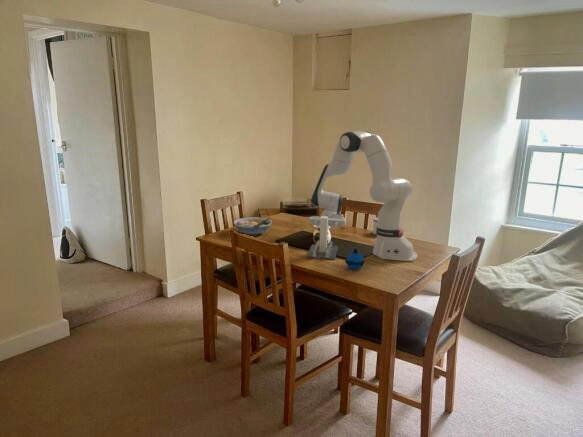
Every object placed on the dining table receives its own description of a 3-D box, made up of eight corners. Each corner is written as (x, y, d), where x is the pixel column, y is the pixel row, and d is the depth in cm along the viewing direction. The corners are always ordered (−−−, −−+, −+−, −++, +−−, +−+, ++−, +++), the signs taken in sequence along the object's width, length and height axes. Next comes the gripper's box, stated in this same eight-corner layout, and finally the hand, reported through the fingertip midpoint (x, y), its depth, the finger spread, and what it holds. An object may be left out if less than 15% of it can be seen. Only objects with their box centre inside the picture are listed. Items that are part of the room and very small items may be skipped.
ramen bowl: (243, 226, 274) (243, 214, 272) (278, 230, 267) (278, 217, 266) (226, 237, 251) (225, 223, 249) (263, 241, 244) (263, 227, 242)
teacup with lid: (381, 236, 258) (382, 217, 255) (369, 233, 264) (370, 214, 261) (393, 233, 265) (395, 214, 263) (381, 230, 272) (382, 211, 269)
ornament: (352, 264, 209) (353, 245, 207) (367, 269, 204) (368, 249, 201) (341, 269, 203) (342, 248, 201) (356, 274, 197) (357, 253, 195)
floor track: (312, 246, 237) (312, 240, 236) (337, 247, 235) (338, 241, 234) (306, 257, 218) (306, 251, 217) (334, 259, 216) (335, 253, 215)
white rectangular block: (320, 249, 229) (321, 215, 225) (326, 249, 228) (328, 216, 224) (319, 252, 224) (320, 218, 220) (325, 252, 224) (327, 218, 219)
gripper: (310, 212, 248) (306, 218, 235) (346, 214, 245) (344, 220, 232) (309, 223, 250) (306, 229, 237) (345, 225, 247) (344, 231, 233)
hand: (325, 225), depth 234 cm, fingers open, 8 cm apart
